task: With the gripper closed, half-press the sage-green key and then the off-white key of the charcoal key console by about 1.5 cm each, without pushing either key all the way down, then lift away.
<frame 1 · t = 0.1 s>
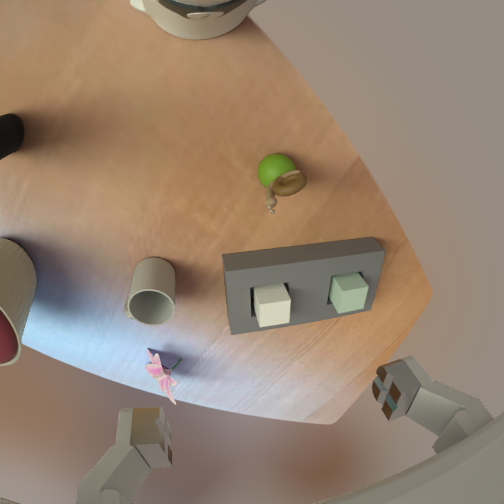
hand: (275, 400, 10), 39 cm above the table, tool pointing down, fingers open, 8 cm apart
cup: (148, 277, 52), on the table
canister: (11, 264, 45), on the table
wine bottle: (9, 133, 34), on the table
green key: (347, 291, 54), point 6 cm above the table, slide at 0.0 cm
lily: (162, 356, 63), on the table
key console: (300, 277, 58), on the table
white key: (271, 304, 52), point 6 cm above the table, slide at 0.0 cm
snail figurine: (269, 168, 46), on the table
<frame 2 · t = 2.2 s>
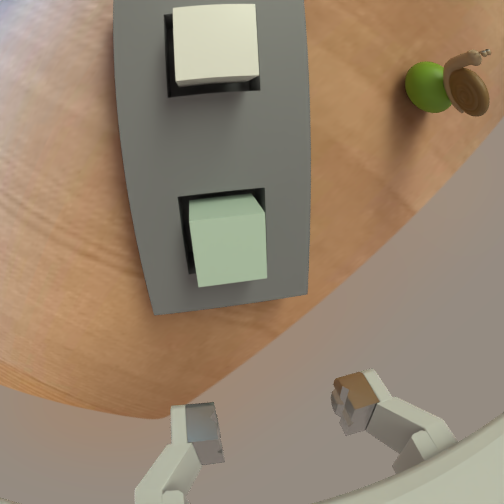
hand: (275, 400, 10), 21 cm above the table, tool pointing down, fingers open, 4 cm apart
green key: (226, 237, 24), point 6 cm above the table, slide at 0.0 cm
key console: (213, 137, 26), on the table
white key: (213, 47, 18), point 6 cm above the table, slide at 0.0 cm
snail figurine: (411, 82, 27), on the table
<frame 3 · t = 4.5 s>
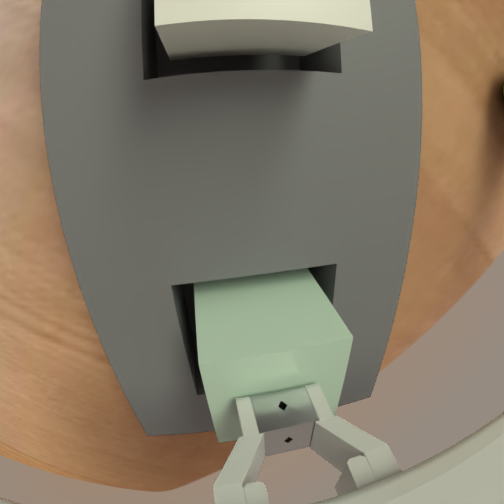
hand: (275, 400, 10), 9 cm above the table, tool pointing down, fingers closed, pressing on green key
green key: (264, 354, 13), point 6 cm above the table, slide at 0.0 cm, touching gripper
key console: (234, 157, 15), on the table
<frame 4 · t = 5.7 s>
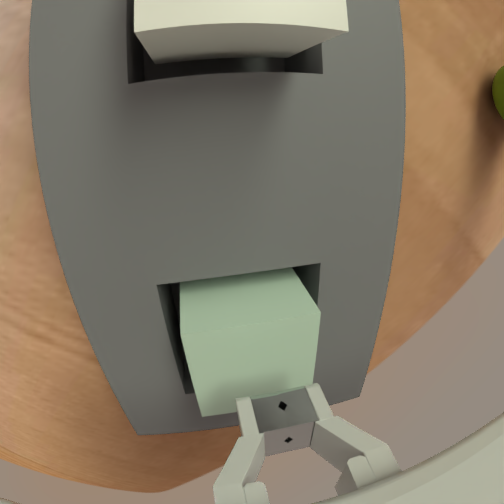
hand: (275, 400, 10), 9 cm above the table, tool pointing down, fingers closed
green key: (244, 333, 14), point 5 cm above the table, slide at 1.4 cm
key console: (220, 158, 15), on the table
snail figurine: (494, 87, 16), on the table
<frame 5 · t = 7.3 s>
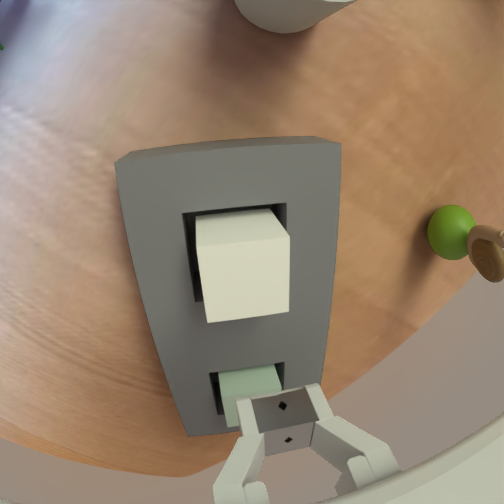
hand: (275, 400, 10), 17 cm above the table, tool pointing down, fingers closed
green key: (248, 388, 27), point 5 cm above the table, slide at 1.4 cm
key console: (236, 300, 28), on the table
white key: (240, 262, 20), point 6 cm above the table, slide at 0.0 cm
snail figurine: (434, 217, 29), on the table
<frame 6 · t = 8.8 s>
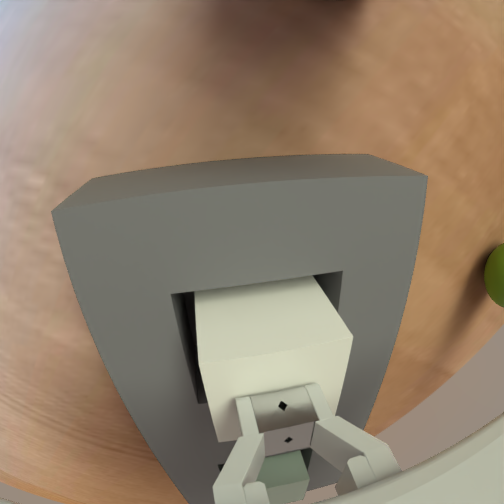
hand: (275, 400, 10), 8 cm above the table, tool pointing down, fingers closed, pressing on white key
green key: (265, 470, 20), point 5 cm above the table, slide at 1.4 cm
key console: (250, 372, 21), on the table
white key: (264, 354, 13), point 5 cm above the table, slide at 0.6 cm, touching gripper
snail figurine: (490, 254, 21), on the table
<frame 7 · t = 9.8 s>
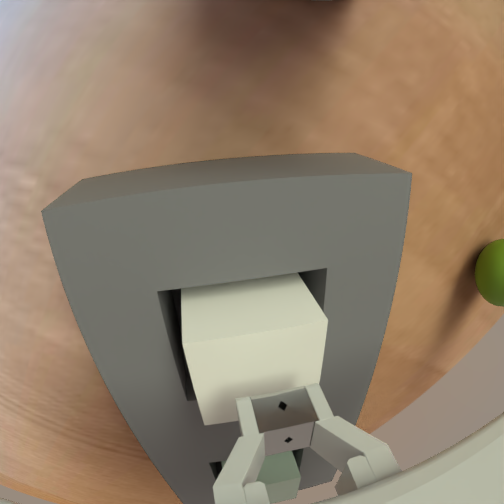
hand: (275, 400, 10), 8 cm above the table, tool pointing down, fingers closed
green key: (257, 469, 20), point 5 cm above the table, slide at 1.4 cm
key console: (240, 370, 21), on the table
white key: (247, 340, 14), point 5 cm above the table, slide at 1.4 cm
snail figurine: (480, 252, 22), on the table
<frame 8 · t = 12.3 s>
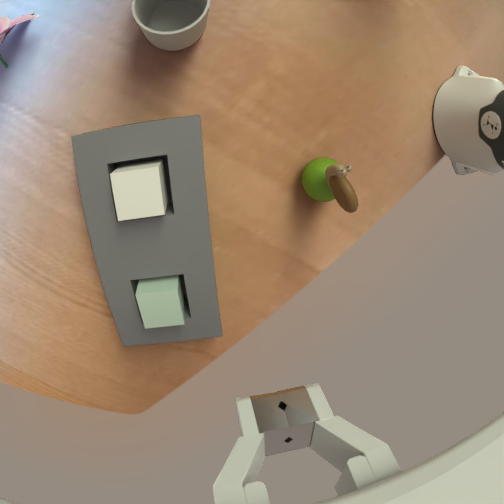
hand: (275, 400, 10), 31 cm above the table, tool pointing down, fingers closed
cup: (168, 17, 28), on the table
green key: (161, 298, 38), point 5 cm above the table, slide at 1.4 cm
lily: (12, 38, 24), on the table
key console: (154, 232, 39), on the table
white key: (140, 188, 32), point 5 cm above the table, slide at 1.4 cm
snail figurine: (313, 171, 40), on the table
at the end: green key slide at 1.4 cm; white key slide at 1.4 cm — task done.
